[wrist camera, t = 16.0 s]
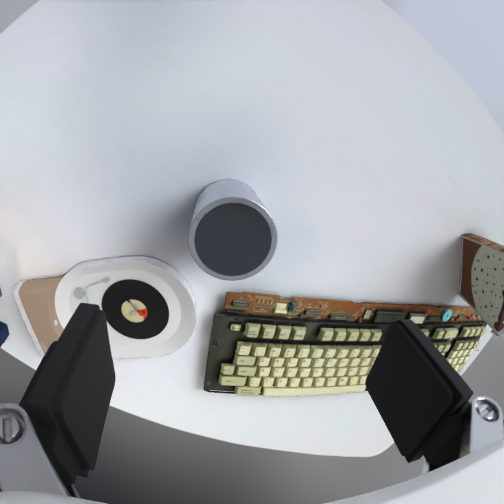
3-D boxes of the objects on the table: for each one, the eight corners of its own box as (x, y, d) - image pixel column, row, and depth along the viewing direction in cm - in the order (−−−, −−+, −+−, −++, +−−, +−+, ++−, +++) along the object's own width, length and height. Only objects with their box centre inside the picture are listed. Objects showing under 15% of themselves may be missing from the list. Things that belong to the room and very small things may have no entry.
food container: (484, 287, 37) (526, 320, 27) (457, 302, 37) (499, 340, 27) (489, 212, 32) (542, 237, 23) (461, 224, 32) (516, 254, 23)
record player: (7, 280, 24) (184, 261, 26) (21, 268, 27) (187, 248, 29) (45, 366, 29) (203, 362, 31) (54, 350, 32) (203, 344, 33)
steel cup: (198, 175, 26) (192, 192, 19) (265, 183, 27) (284, 202, 20) (192, 239, 29) (185, 277, 21) (255, 245, 30) (269, 284, 22)
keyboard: (202, 384, 36) (202, 398, 33) (218, 282, 31) (219, 294, 28) (456, 374, 44) (463, 383, 41) (493, 306, 39) (502, 314, 36)
